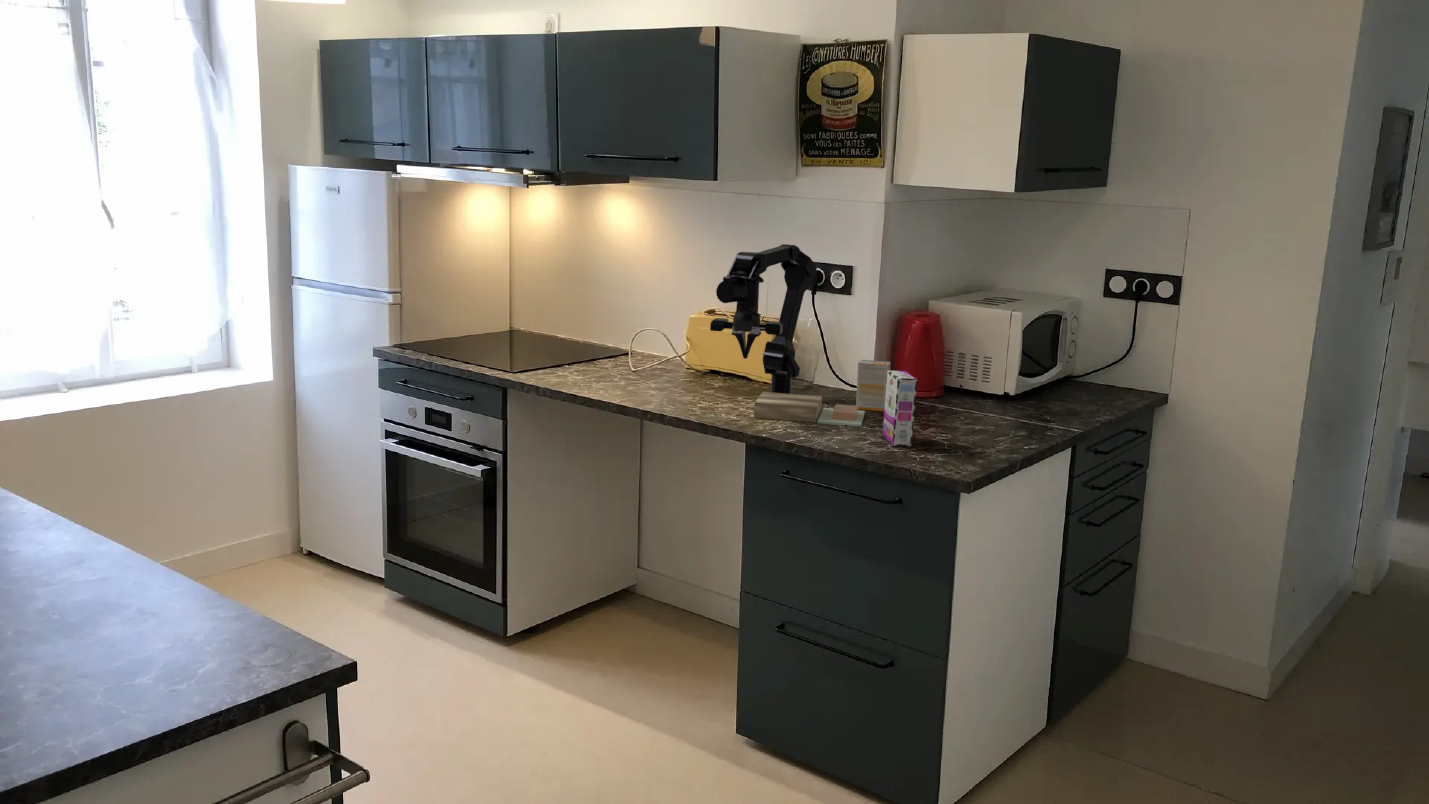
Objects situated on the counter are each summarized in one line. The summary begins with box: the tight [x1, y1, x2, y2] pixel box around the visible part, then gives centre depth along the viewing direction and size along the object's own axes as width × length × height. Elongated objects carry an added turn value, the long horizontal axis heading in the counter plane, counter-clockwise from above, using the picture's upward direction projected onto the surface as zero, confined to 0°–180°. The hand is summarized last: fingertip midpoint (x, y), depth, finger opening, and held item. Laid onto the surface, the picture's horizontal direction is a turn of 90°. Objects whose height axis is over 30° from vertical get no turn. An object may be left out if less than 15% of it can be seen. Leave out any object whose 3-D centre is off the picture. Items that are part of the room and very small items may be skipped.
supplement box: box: [855, 359, 891, 413], centre depth 300 cm, size 8×5×13 cm, turn 71°
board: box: [753, 391, 823, 423], centre depth 292 cm, size 14×16×4 cm
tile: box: [832, 404, 859, 421], centre depth 289 cm, size 9×6×2 cm, turn 169°
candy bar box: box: [882, 370, 918, 447], centre depth 266 cm, size 11×5×16 cm, turn 5°
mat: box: [817, 407, 866, 428], centre depth 290 cm, size 16×11×1 cm
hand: (745, 358), depth 297 cm, fingers closed
